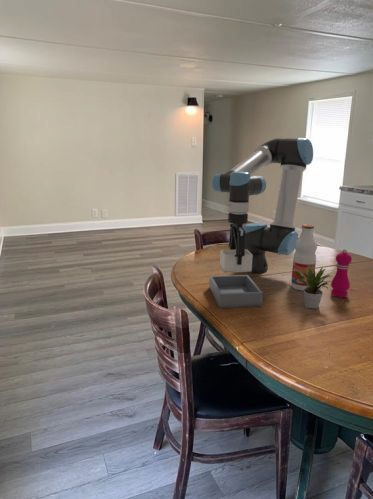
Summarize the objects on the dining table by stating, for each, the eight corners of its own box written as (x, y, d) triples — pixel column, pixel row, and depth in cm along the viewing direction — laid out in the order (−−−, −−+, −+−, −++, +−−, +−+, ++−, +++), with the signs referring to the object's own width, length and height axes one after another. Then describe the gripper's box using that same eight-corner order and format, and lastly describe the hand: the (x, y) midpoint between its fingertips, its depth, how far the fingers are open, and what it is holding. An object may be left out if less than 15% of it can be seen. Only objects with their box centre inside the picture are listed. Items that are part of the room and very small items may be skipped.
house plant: (326, 318, 135) (331, 275, 131) (288, 309, 142) (292, 268, 138) (334, 305, 147) (339, 265, 143) (299, 297, 154) (303, 259, 150)
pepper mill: (340, 299, 152) (346, 252, 147) (326, 293, 159) (331, 247, 153) (352, 296, 156) (358, 250, 150) (338, 290, 162) (343, 246, 157)
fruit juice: (315, 291, 161) (323, 227, 153) (294, 291, 161) (299, 227, 153) (309, 283, 170) (315, 223, 162) (288, 283, 170) (293, 222, 162)
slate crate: (247, 286, 165) (247, 274, 164) (262, 306, 145) (263, 292, 144) (209, 288, 163) (209, 276, 162) (219, 308, 143) (219, 294, 142)
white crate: (245, 265, 155) (246, 249, 154) (251, 271, 148) (252, 254, 146) (219, 266, 154) (220, 249, 152) (224, 272, 146) (224, 255, 144)
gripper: (222, 208, 154) (220, 261, 160) (235, 217, 134) (232, 277, 140) (240, 208, 155) (237, 260, 161) (255, 217, 135) (251, 276, 141)
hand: (235, 268), depth 151 cm, fingers closed on white crate, 8 cm apart
